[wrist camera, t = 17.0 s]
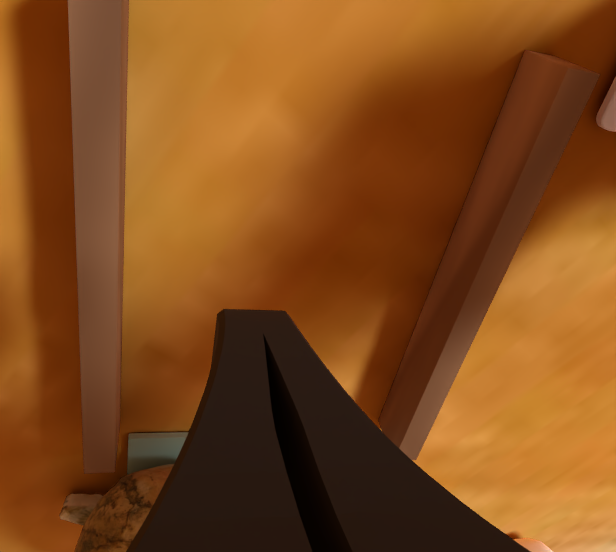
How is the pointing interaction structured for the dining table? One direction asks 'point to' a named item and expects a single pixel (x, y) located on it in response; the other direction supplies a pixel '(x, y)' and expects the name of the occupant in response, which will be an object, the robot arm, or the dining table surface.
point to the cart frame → (447, 283)
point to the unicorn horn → (533, 545)
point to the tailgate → (153, 449)
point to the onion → (115, 510)
